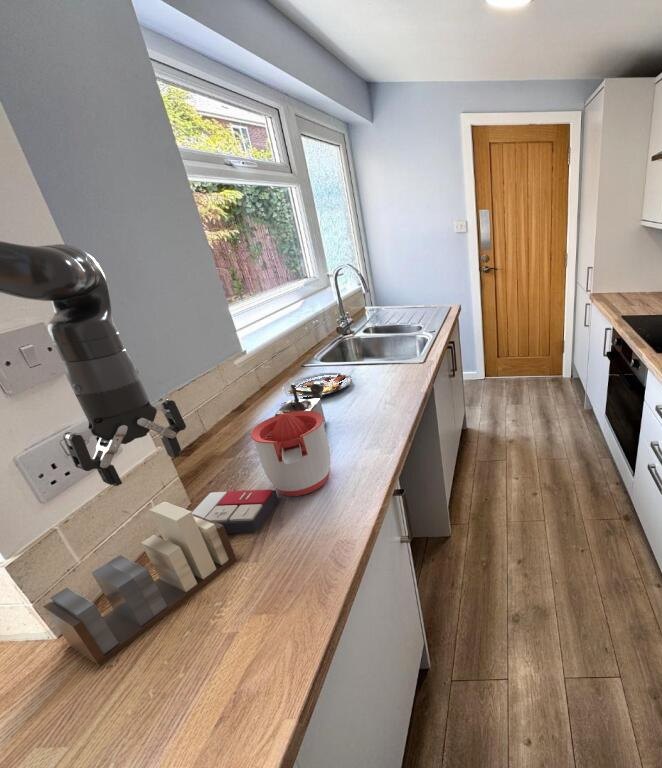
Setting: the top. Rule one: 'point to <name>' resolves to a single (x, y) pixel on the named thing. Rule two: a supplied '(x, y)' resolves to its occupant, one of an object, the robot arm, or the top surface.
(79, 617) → the book trough
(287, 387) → the food plate
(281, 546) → the top surface
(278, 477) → the citrus juicer
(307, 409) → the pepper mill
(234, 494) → the calculator
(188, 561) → the pale book
